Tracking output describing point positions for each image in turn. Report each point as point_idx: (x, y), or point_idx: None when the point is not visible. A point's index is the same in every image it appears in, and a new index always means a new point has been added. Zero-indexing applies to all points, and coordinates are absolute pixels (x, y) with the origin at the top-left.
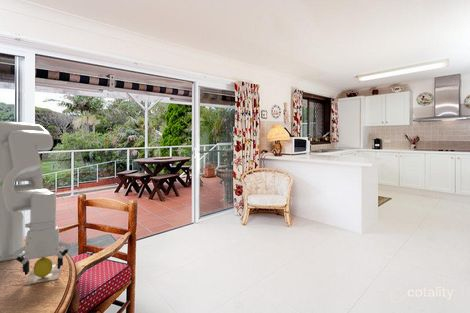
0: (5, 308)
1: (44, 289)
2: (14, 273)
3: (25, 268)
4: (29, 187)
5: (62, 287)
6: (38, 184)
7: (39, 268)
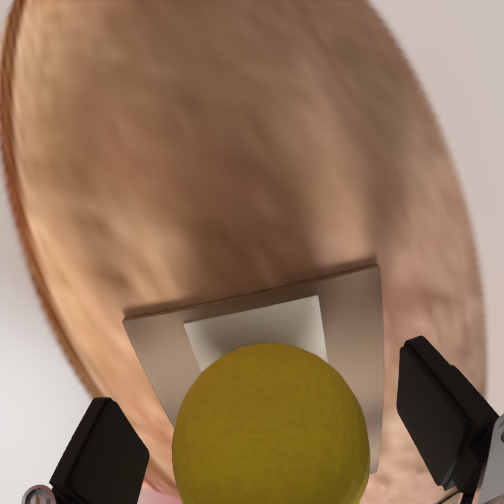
0: None
1: (161, 159)
2: None
3: (455, 380)
4: None
5: (39, 174)
6: None
7: (279, 397)
